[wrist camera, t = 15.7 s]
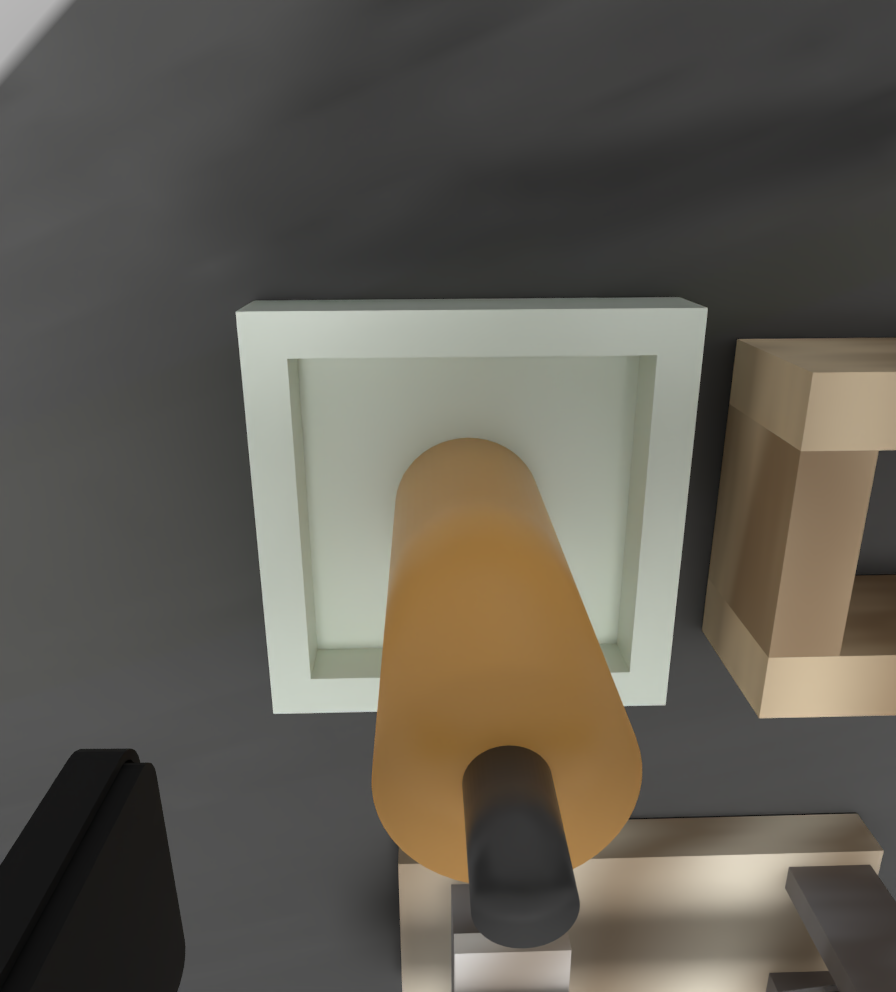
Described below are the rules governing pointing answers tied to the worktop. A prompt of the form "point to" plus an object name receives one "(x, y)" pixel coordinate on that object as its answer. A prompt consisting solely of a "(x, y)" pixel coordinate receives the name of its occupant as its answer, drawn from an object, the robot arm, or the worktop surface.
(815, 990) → the lever
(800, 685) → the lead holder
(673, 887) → the base
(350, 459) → the tray
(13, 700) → the worktop surface
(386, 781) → the plug
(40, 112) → the worktop surface
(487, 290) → the worktop surface
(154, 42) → the worktop surface
